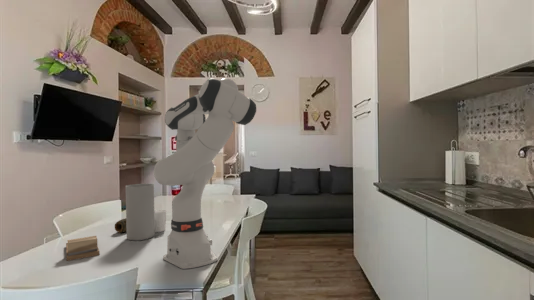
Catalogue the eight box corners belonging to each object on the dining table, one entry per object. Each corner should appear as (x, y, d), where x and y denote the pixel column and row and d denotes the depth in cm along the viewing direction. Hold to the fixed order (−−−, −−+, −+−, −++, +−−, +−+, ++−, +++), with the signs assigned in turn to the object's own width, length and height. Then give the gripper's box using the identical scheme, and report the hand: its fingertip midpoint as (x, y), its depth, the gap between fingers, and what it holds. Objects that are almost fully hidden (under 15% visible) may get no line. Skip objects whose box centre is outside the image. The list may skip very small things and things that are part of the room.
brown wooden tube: (126, 234, 152) (125, 221, 152) (113, 233, 153) (113, 220, 153) (143, 226, 166) (142, 214, 166) (131, 226, 168) (131, 214, 168)
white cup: (169, 228, 161) (168, 209, 161) (162, 232, 153) (162, 212, 153) (154, 228, 161) (154, 209, 161) (147, 232, 154) (147, 212, 153)
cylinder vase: (144, 241, 138) (143, 187, 138) (120, 240, 141) (119, 186, 141) (159, 233, 151) (158, 183, 150) (137, 233, 153) (136, 183, 153)
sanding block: (97, 250, 122) (97, 238, 122) (67, 256, 117) (67, 243, 117) (96, 247, 126) (96, 235, 126) (67, 252, 121) (67, 240, 121)
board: (99, 254, 122) (99, 251, 122) (66, 260, 116) (66, 256, 116) (94, 241, 139) (94, 238, 139) (66, 246, 133) (66, 243, 133)
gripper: (200, 136, 144) (200, 165, 145) (185, 137, 161) (186, 163, 161) (187, 136, 141) (187, 165, 141) (173, 137, 158) (174, 164, 158)
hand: (186, 164), depth 151 cm, fingers open, 8 cm apart
